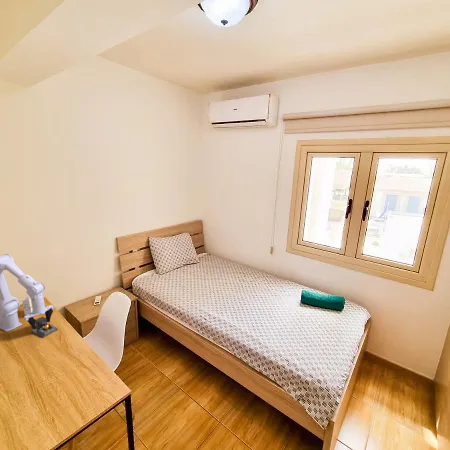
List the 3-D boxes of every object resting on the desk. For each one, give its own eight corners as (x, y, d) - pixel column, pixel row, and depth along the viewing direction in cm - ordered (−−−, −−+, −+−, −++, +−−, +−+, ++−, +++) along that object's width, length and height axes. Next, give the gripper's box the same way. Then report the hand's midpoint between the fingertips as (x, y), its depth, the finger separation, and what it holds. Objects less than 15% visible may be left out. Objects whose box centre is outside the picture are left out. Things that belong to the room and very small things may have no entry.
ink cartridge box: (34, 309, 165) (31, 289, 162) (42, 309, 165) (39, 289, 162) (24, 317, 157) (20, 295, 154) (32, 317, 157) (28, 295, 154)
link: (34, 330, 142) (32, 321, 141) (45, 324, 148) (44, 315, 146) (44, 335, 138) (43, 325, 137) (55, 329, 144) (54, 320, 142)
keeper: (31, 332, 142) (30, 325, 141) (46, 324, 149) (45, 318, 148) (43, 337, 138) (41, 330, 137) (57, 329, 145) (56, 322, 144)
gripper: (27, 311, 133) (31, 334, 136) (55, 299, 146) (58, 320, 149) (20, 308, 136) (24, 330, 139) (48, 297, 149) (51, 317, 152)
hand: (41, 325), depth 144 cm, fingers open, 7 cm apart
